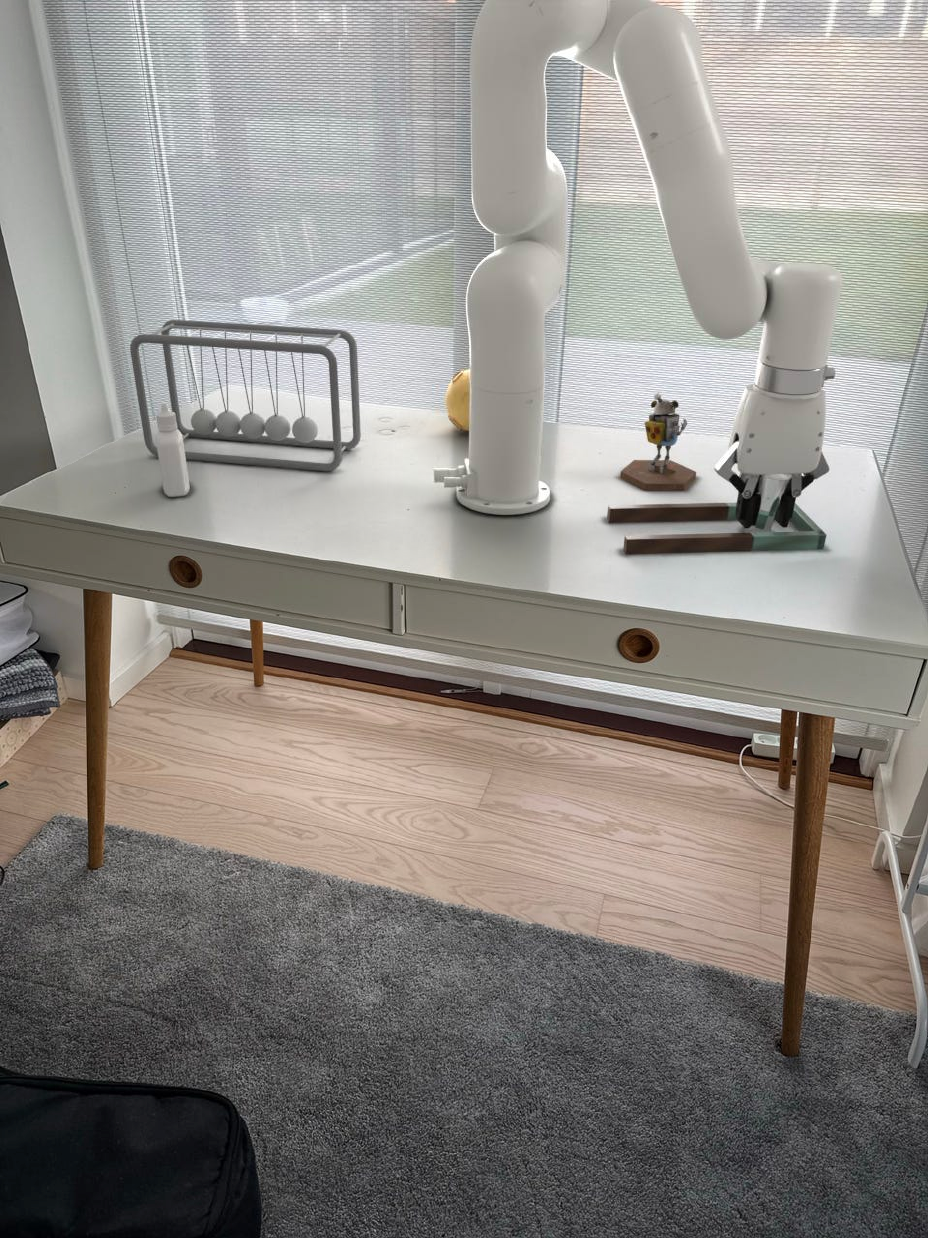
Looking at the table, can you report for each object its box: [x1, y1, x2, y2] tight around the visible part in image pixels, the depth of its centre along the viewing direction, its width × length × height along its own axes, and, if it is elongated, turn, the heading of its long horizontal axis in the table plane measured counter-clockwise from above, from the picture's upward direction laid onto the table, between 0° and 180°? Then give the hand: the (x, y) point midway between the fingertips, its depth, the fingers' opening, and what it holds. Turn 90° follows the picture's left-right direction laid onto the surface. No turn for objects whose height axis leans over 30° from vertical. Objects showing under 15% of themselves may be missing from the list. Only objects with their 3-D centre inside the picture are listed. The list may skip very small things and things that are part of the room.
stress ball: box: [445, 368, 470, 432], centre depth 150 cm, size 10×10×10 cm
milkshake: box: [742, 474, 792, 533], centre depth 117 cm, size 5×5×10 cm
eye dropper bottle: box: [155, 402, 191, 498], centre depth 126 cm, size 4×6×12 cm
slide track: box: [606, 502, 827, 555], centre depth 118 cm, size 24×10×2 cm, turn 95°
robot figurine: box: [619, 392, 697, 492], centre depth 132 cm, size 11×9×12 cm
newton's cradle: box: [129, 319, 362, 472], centre depth 137 cm, size 30×10×18 cm, turn 79°
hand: (762, 522), depth 118 cm, fingers closed on milkshake, 4 cm apart
